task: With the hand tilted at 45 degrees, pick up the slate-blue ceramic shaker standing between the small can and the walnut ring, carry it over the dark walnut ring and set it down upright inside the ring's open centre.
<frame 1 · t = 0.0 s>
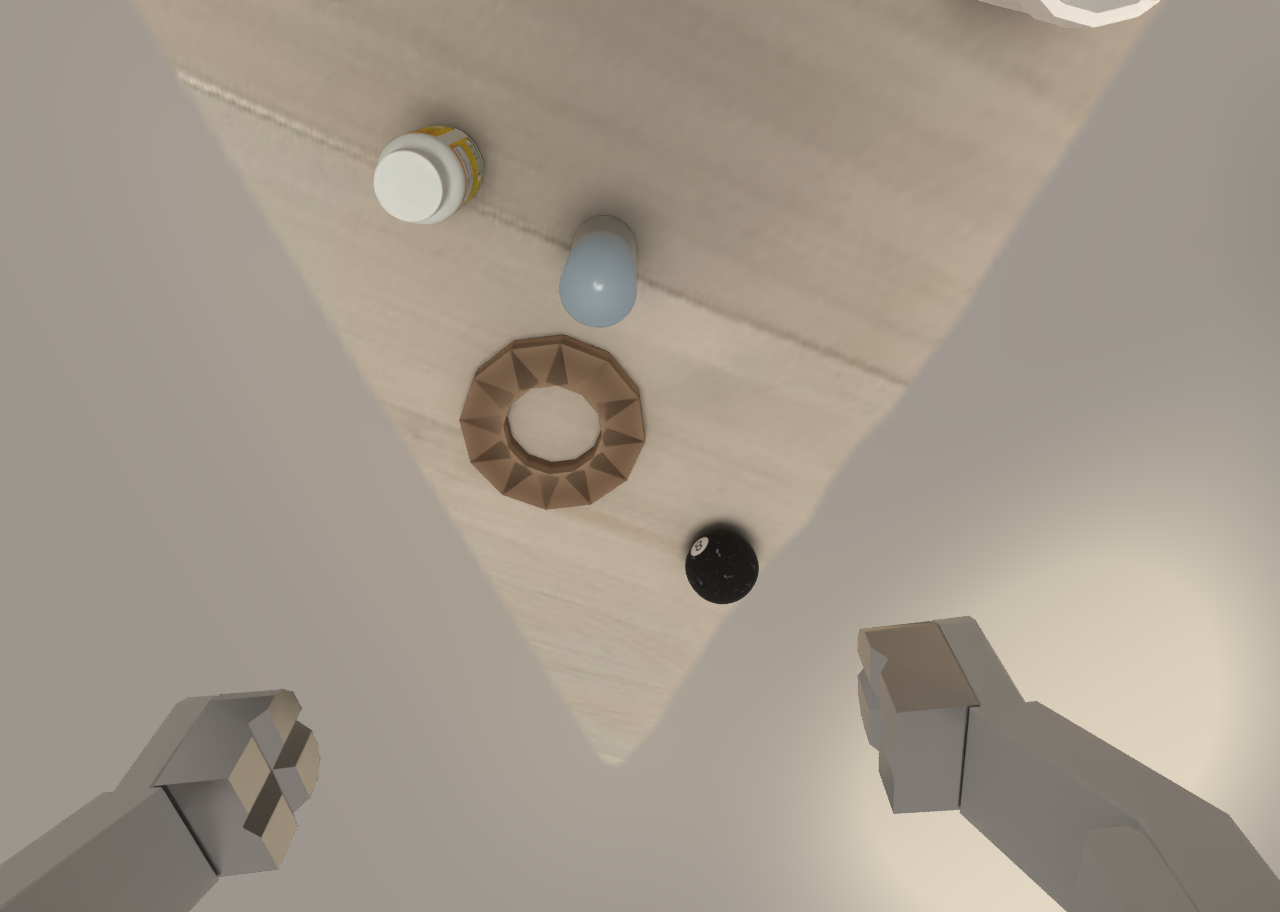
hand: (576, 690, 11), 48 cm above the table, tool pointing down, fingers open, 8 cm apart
billiard ball: (718, 545, 68), on the table
supplement bottle: (445, 165, 53), on the table
slate ceramic shaker: (604, 248, 56), on the table
walnut ring: (555, 420, 62), on the table
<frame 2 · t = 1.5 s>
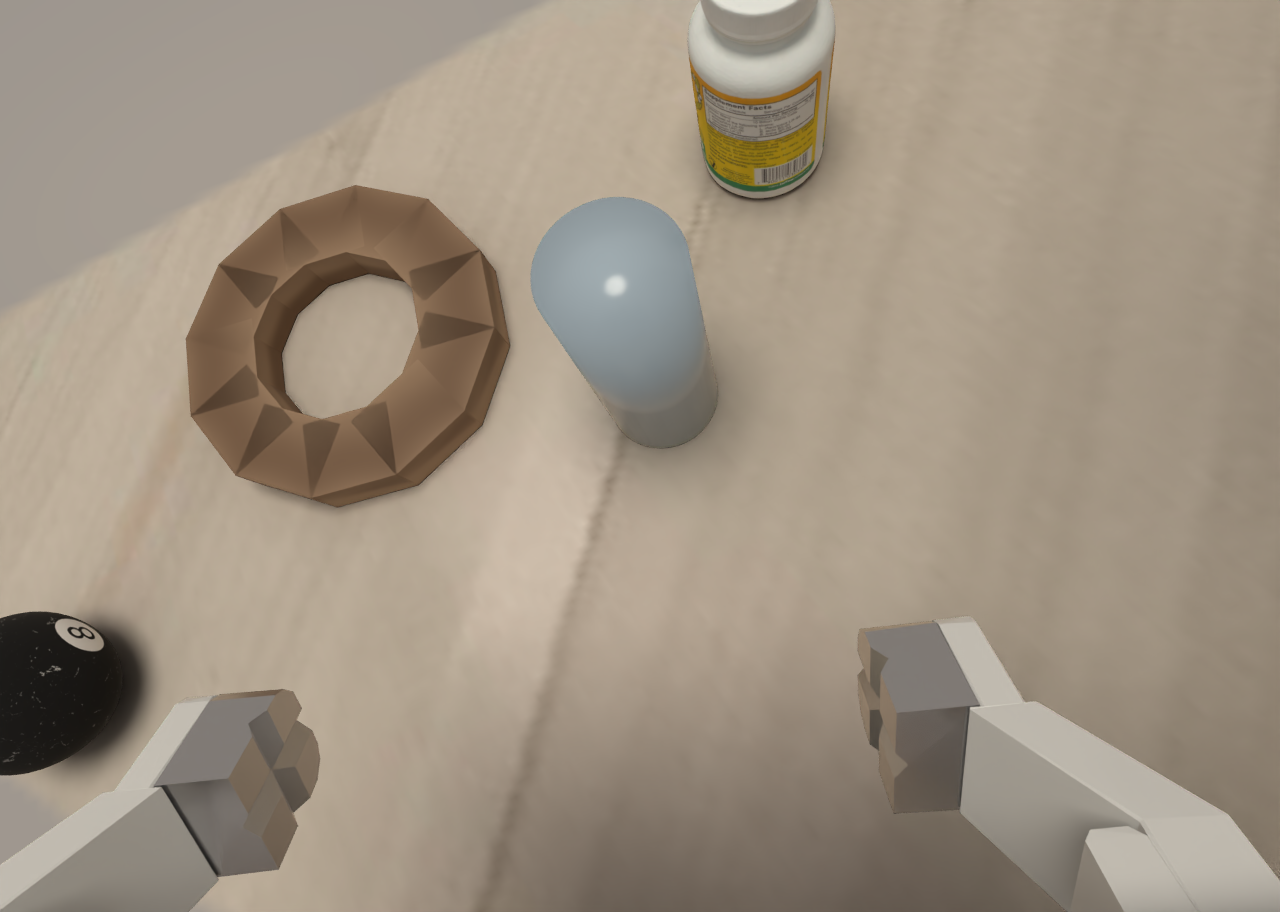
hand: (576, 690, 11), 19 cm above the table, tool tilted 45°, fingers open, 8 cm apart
billiard ball: (96, 687, 34), on the table
supplement bottle: (762, 151, 35), on the table
slate ceramic shaker: (662, 395, 32), on the table
walnut ring: (358, 350, 35), on the table
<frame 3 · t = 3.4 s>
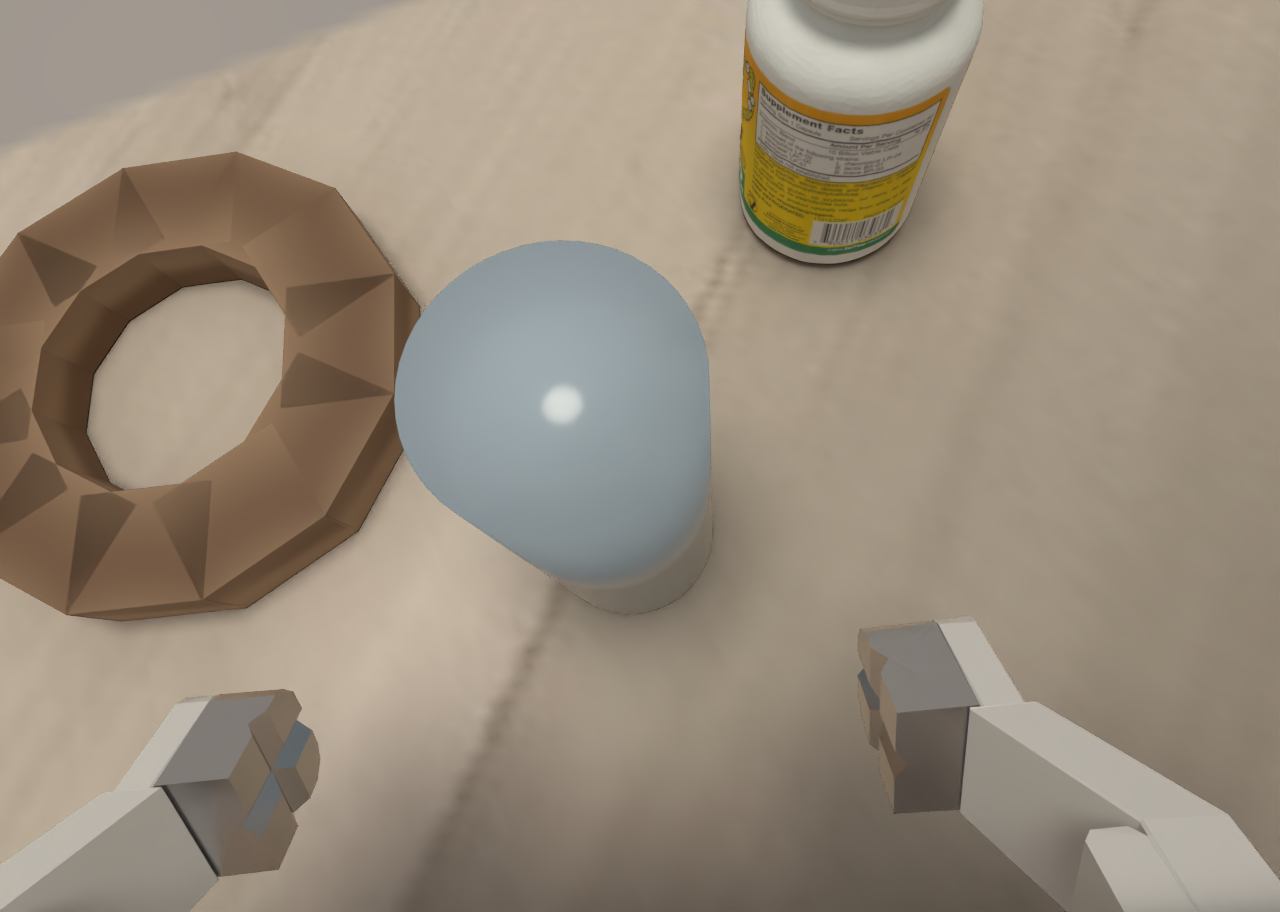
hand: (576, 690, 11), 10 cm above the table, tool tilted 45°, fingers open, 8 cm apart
supplement bottle: (822, 197, 24), on the table
slate ceramic shaker: (630, 530, 22), on the table
walnut ring: (202, 388, 24), on the table
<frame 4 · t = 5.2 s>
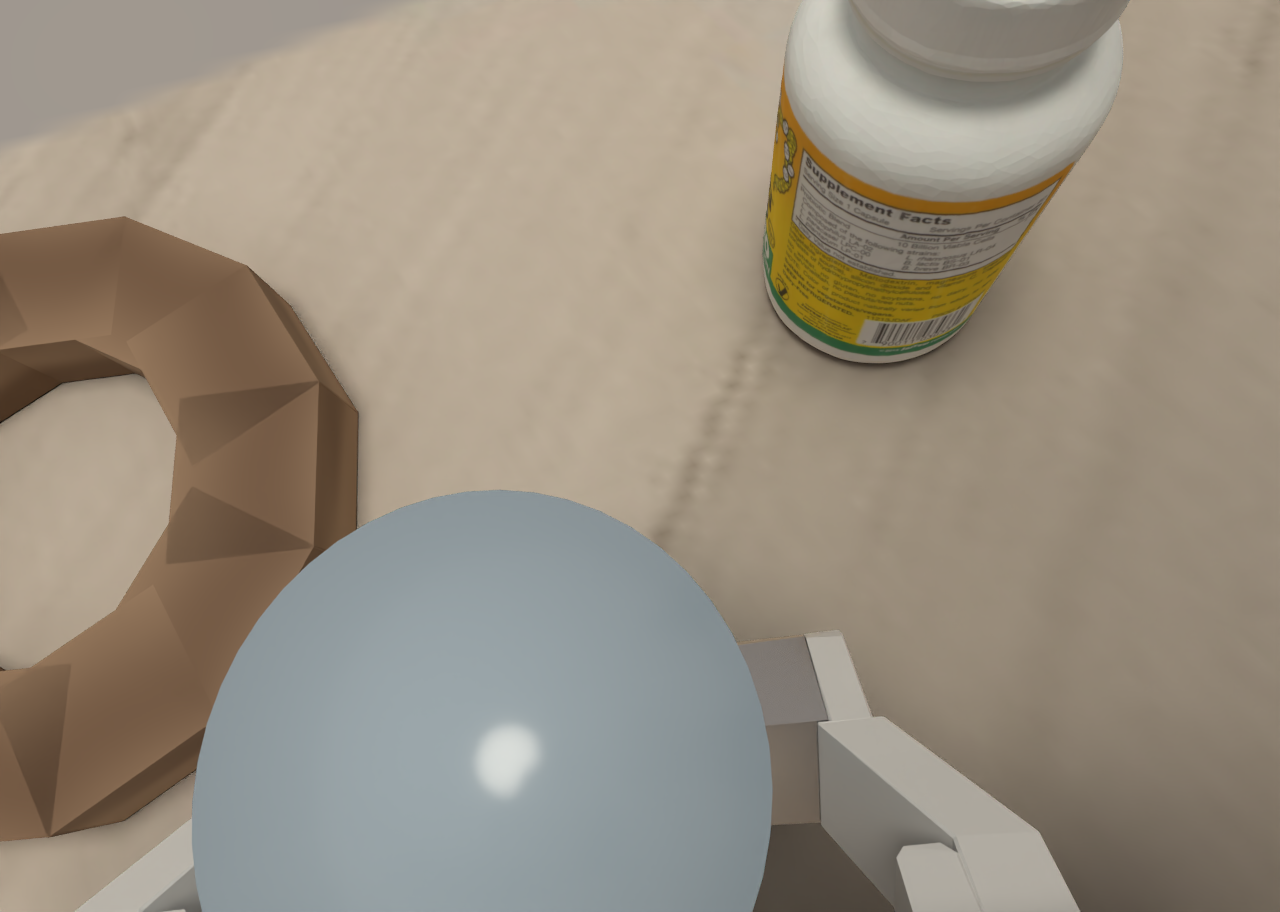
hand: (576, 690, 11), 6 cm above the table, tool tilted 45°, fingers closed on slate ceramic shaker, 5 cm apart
supplement bottle: (867, 273, 19), on the table
slate ceramic shaker: (624, 722, 17), on the table, touching gripper
walnut ring: (81, 517, 19), on the table
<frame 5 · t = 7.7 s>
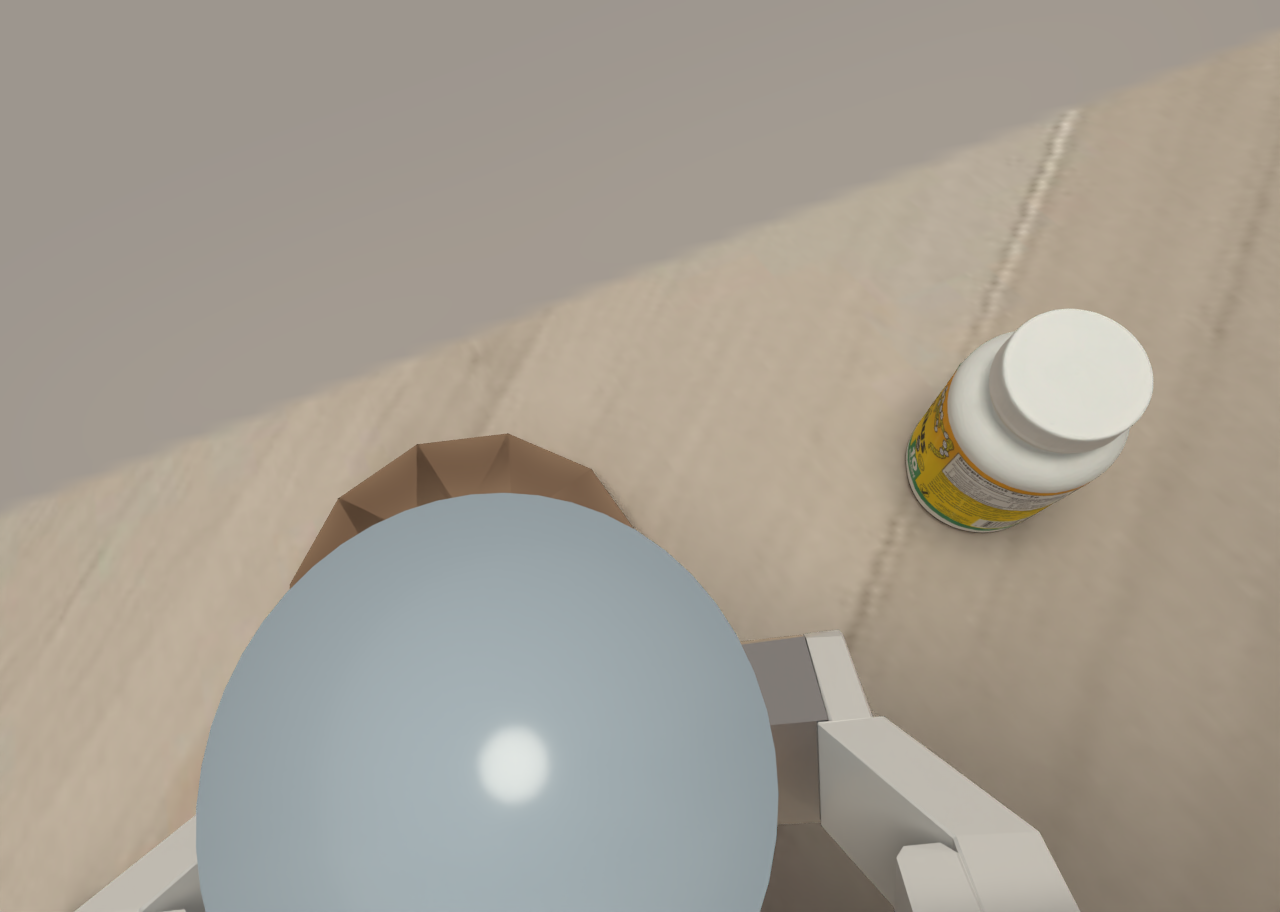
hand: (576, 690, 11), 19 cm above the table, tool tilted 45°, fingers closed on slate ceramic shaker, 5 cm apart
supplement bottle: (970, 468, 31), on the table
slate ceramic shaker: (627, 723, 16), point 13 cm above the table, touching gripper
walnut ring: (482, 619, 31), on the table
when the fingers open (7 cm above the table, at t = 10.7 s): slate ceramic shaker drops 1 cm, resting in walnut ring.
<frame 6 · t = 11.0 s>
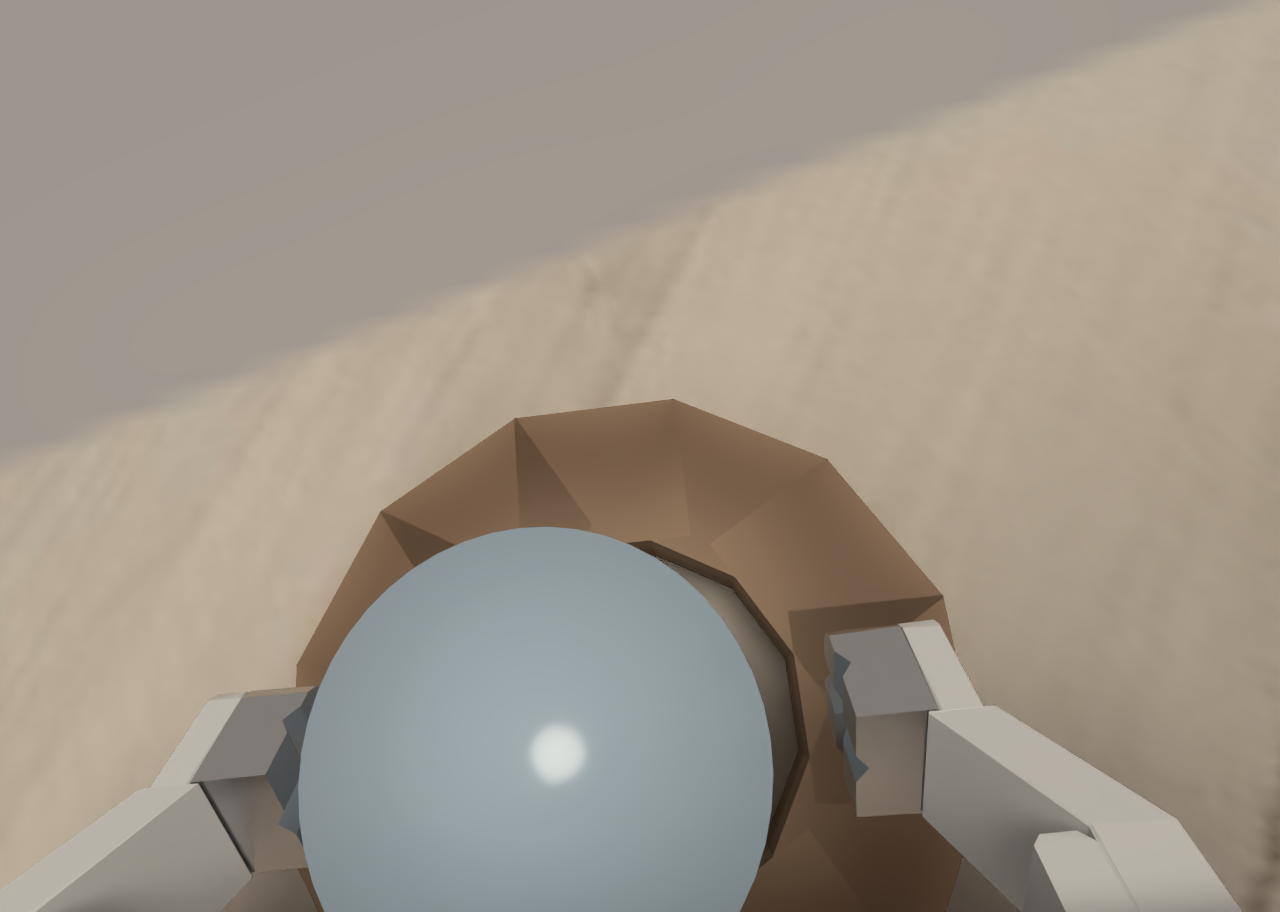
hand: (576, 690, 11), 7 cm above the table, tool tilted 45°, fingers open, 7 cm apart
slate ceramic shaker: (634, 721, 18), resting in walnut ring
walnut ring: (629, 719, 18), on the table
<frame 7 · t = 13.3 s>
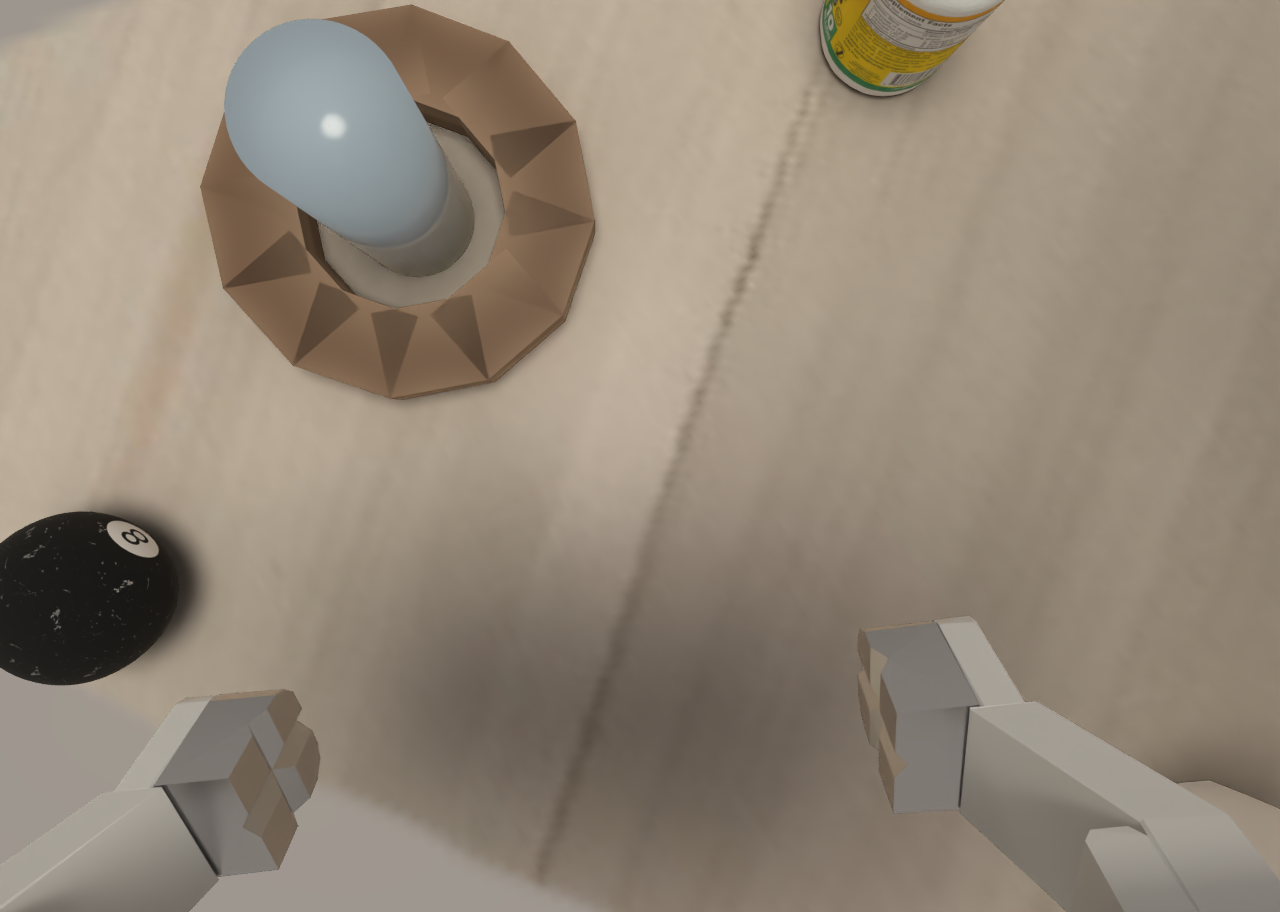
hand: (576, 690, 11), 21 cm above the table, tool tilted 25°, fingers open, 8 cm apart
foam cup: (1191, 846, 34), on the table
billiard ball: (132, 577, 31), on the table
supplement bottle: (878, 34, 32), on the table
slate ceramic shaker: (416, 218, 31), resting in walnut ring
walnut ring: (413, 217, 31), on the table
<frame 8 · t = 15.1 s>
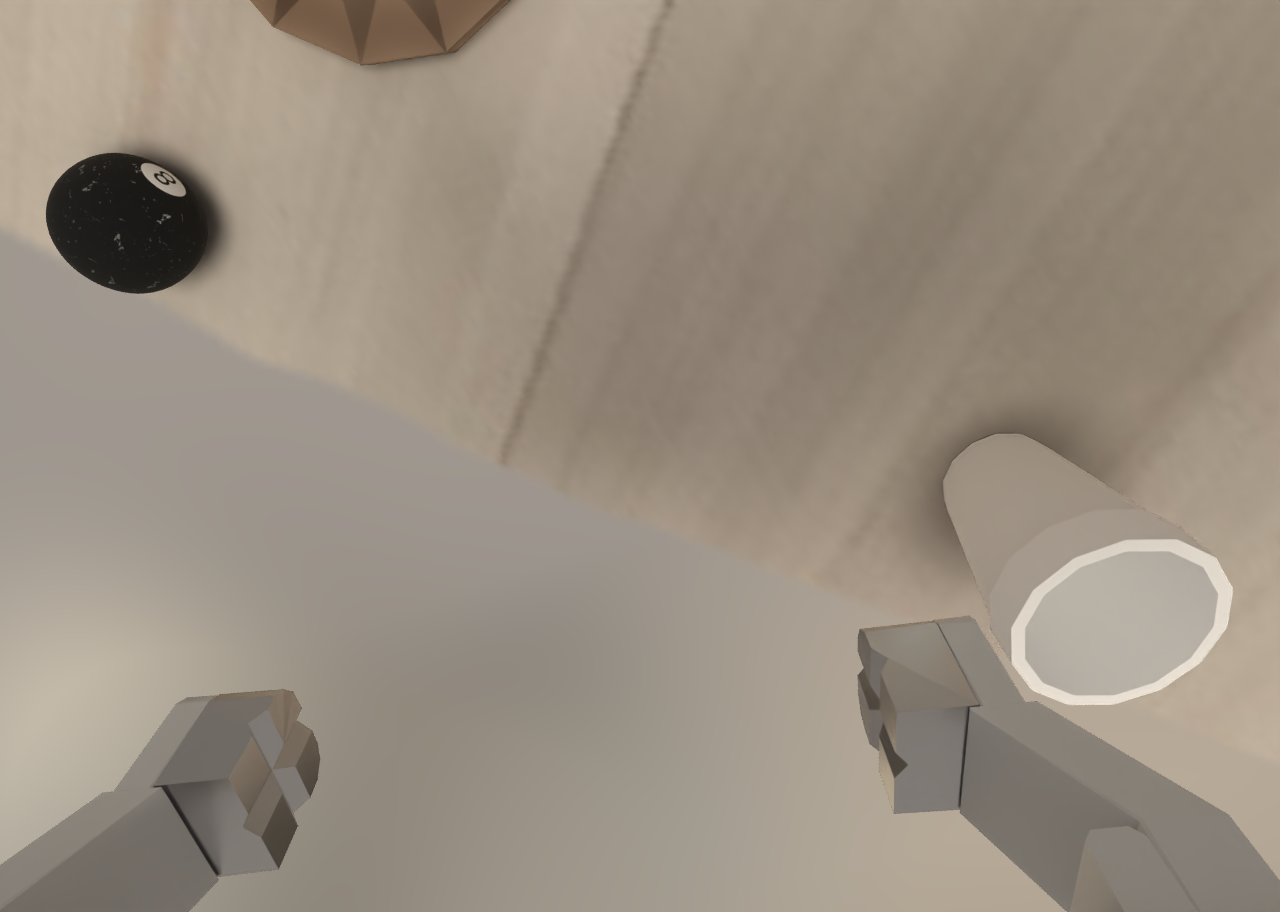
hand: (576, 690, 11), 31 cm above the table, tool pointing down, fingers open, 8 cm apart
foam cup: (995, 479, 46), on the table
billiard ball: (168, 212, 38), on the table
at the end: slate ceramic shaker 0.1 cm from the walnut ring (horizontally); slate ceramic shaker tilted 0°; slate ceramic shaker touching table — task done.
